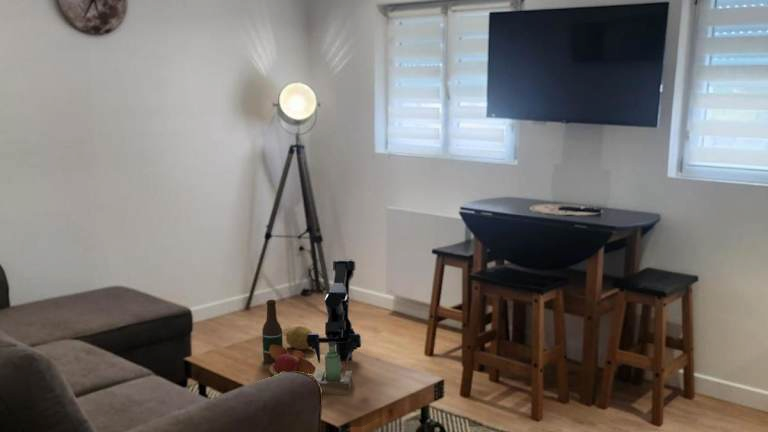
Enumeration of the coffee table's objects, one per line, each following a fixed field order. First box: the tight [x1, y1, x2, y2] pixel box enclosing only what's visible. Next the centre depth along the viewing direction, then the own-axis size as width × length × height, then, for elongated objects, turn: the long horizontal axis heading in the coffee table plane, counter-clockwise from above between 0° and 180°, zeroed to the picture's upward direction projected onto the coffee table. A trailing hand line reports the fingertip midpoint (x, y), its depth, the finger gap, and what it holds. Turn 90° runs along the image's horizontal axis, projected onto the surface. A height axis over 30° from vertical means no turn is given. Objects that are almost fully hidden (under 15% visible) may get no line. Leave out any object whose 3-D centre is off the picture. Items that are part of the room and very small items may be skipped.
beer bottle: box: [261, 299, 284, 365], centre depth 273 cm, size 8×8×24 cm
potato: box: [285, 325, 313, 351], centre depth 288 cm, size 10×13×9 cm
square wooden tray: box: [314, 370, 353, 396], centre depth 247 cm, size 12×12×4 cm
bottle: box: [324, 341, 342, 381], centre depth 246 cm, size 5×5×15 cm
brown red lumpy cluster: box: [269, 344, 316, 375], centre depth 261 cm, size 20×9×15 cm
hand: (332, 362), depth 244 cm, fingers open, 9 cm apart
